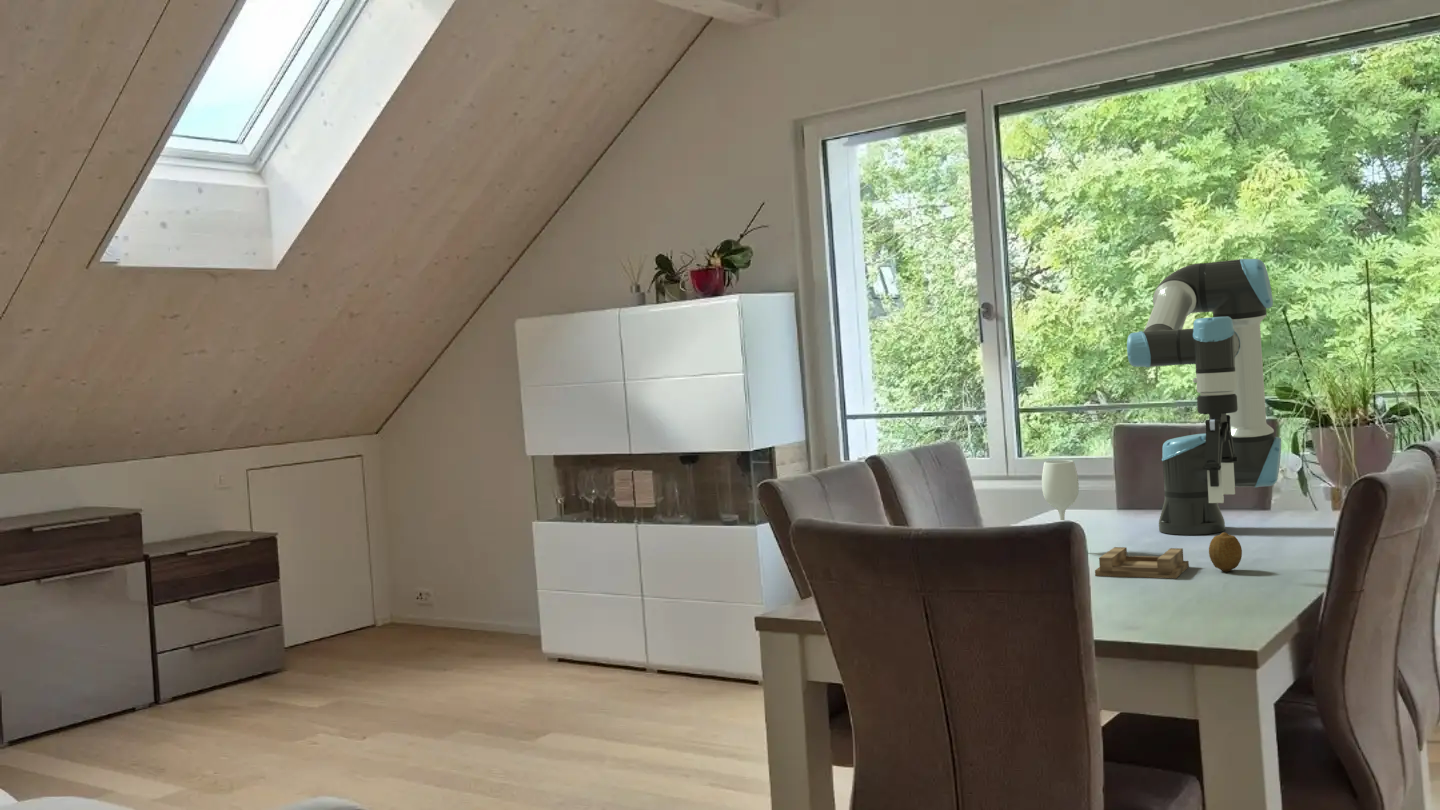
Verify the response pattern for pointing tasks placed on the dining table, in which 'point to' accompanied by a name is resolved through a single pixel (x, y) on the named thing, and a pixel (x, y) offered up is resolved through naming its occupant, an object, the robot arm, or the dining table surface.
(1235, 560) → the fruit
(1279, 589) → the dining table surface
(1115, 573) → the cradle
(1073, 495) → the wineglass
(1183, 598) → the dining table surface
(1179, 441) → the robot arm
